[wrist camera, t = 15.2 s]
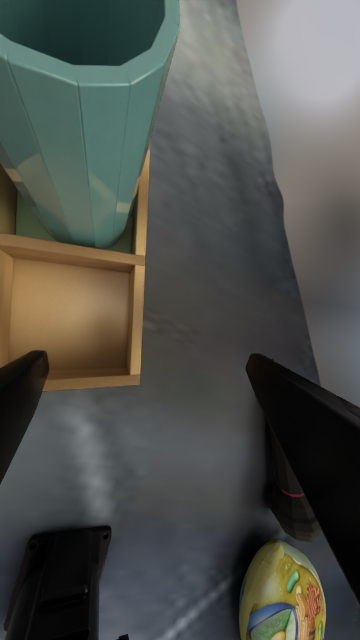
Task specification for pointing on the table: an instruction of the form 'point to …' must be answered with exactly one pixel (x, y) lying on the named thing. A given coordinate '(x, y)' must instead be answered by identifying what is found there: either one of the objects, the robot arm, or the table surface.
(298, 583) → the plant cell model
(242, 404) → the table surface
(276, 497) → the microphone
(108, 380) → the divided wooden tray
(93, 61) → the tumbler
